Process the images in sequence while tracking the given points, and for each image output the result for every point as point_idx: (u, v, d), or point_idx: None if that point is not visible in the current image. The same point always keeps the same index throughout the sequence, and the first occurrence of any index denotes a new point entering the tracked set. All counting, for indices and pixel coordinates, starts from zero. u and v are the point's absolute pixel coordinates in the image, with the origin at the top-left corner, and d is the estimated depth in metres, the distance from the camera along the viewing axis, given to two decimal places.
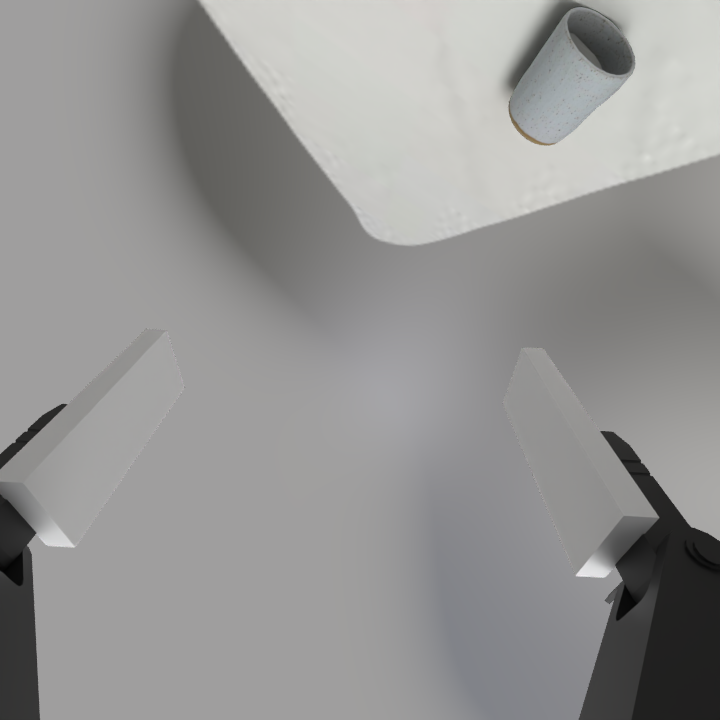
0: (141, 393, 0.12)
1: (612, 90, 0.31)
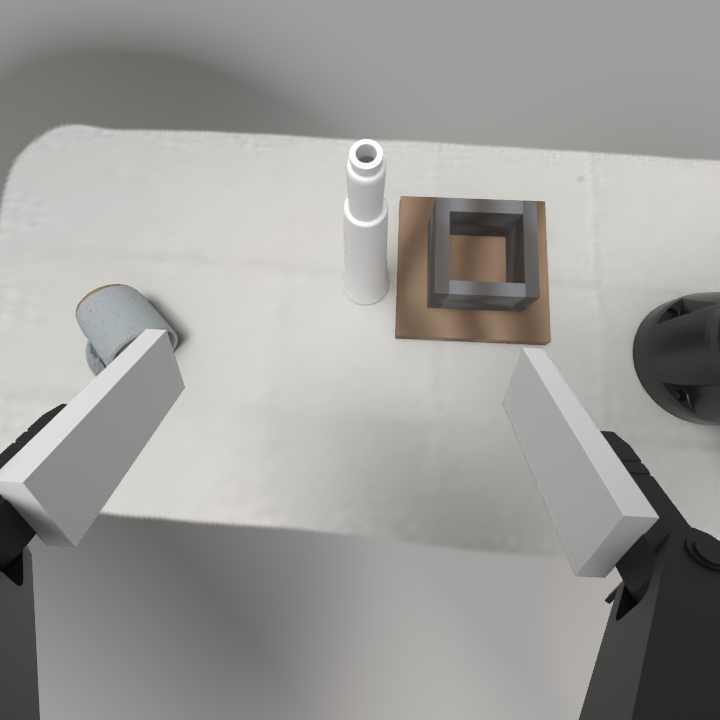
0: (141, 393, 0.12)
1: (103, 351, 0.37)
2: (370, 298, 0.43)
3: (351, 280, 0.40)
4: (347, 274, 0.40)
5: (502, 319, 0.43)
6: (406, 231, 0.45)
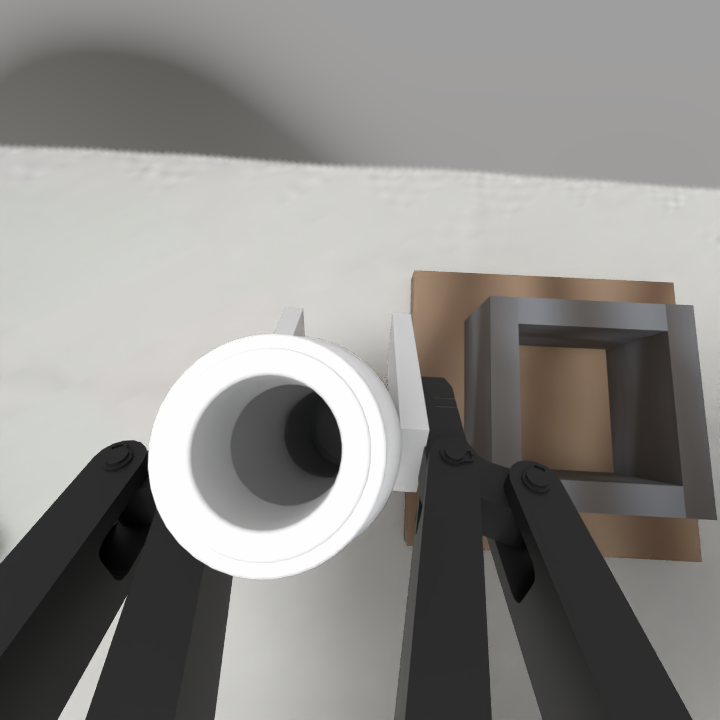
0: None
1: None
2: None
3: None
4: None
5: (607, 514, 0.22)
6: (425, 337, 0.24)
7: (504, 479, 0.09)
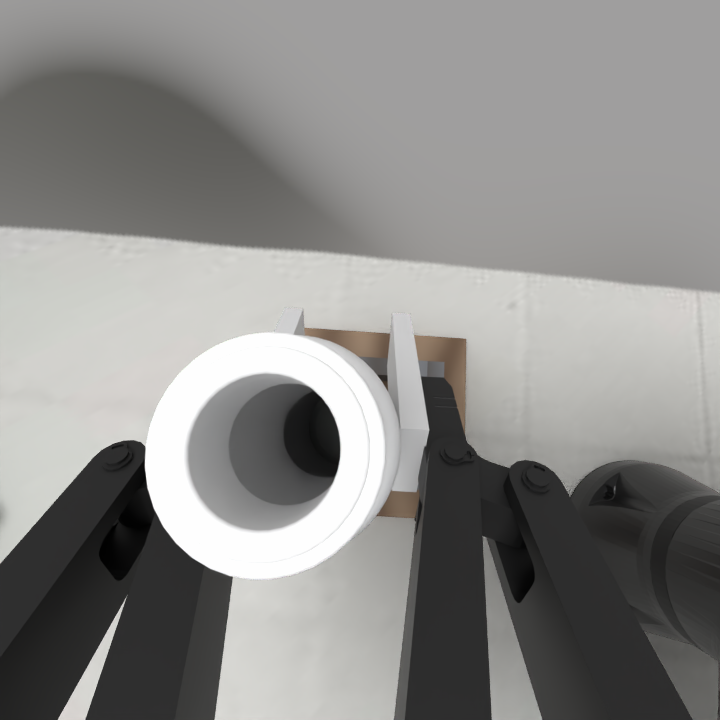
0: None
1: None
2: None
3: None
4: None
5: None
6: None
7: (504, 479, 0.09)
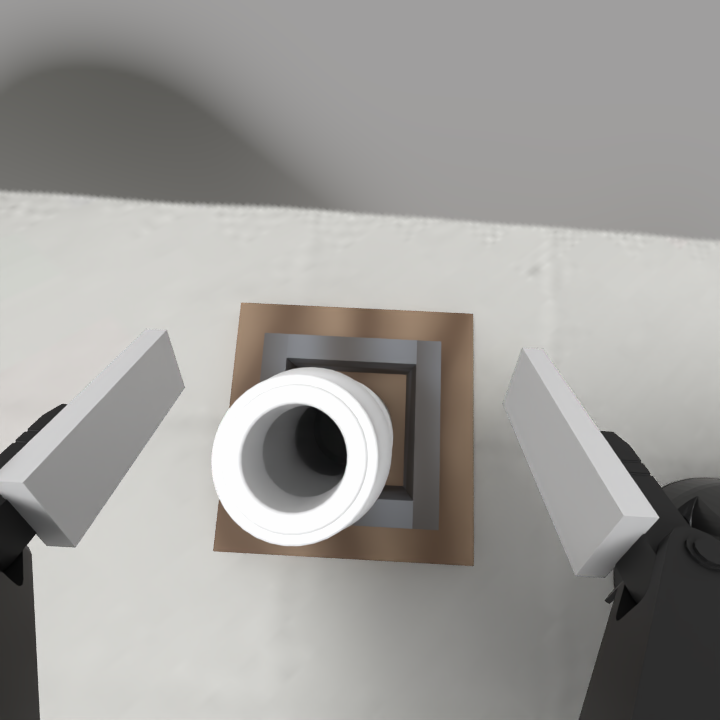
0: (141, 393, 0.12)
1: None
2: None
3: None
4: None
5: None
6: (245, 363, 0.27)
7: None
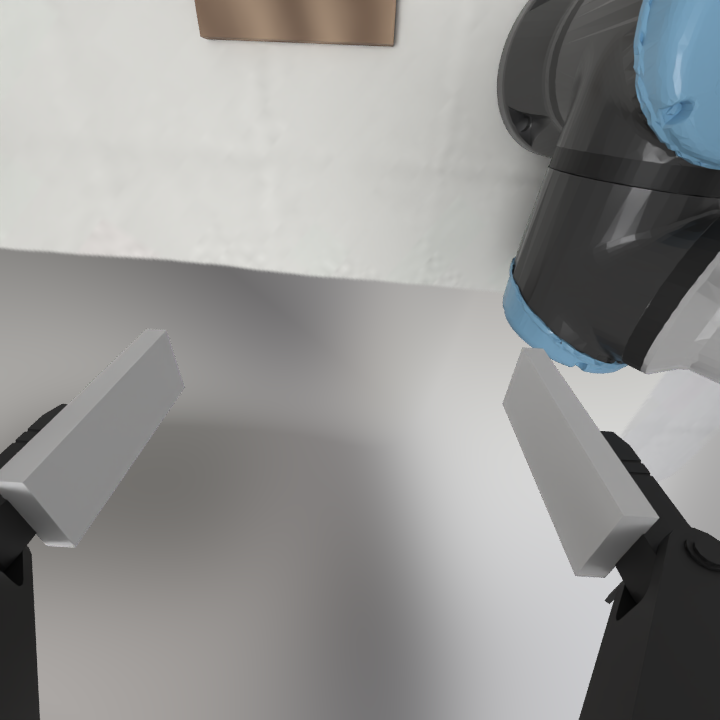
0: (141, 393, 0.12)
1: None
2: None
3: None
4: None
5: (333, 5, 0.32)
6: None
7: None
